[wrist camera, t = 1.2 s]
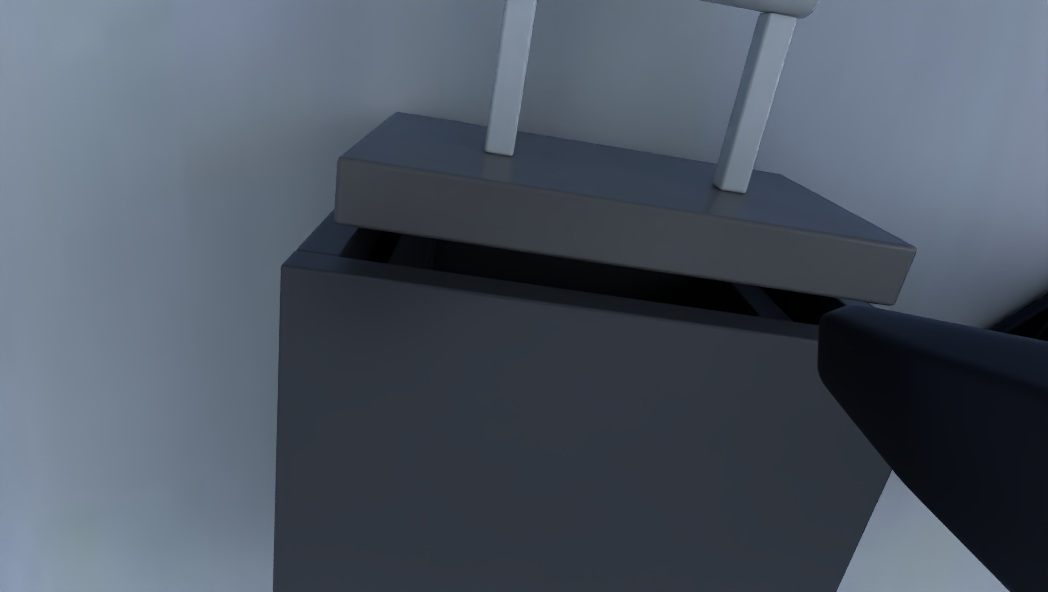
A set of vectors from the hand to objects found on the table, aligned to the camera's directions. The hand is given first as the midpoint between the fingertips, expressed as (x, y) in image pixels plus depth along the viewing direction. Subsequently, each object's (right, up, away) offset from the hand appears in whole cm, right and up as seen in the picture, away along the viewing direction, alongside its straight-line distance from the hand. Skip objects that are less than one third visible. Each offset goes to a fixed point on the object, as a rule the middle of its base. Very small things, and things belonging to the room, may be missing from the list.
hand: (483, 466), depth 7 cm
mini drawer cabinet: (+1, -1, +14) cm, 14 cm away
